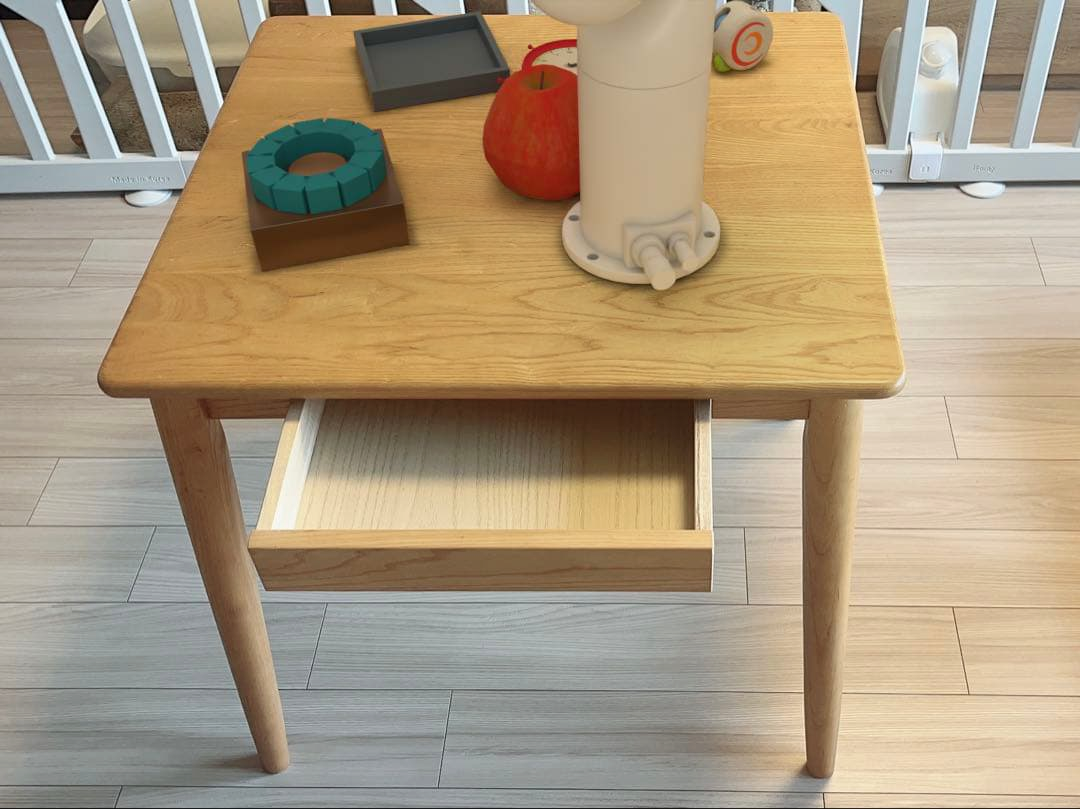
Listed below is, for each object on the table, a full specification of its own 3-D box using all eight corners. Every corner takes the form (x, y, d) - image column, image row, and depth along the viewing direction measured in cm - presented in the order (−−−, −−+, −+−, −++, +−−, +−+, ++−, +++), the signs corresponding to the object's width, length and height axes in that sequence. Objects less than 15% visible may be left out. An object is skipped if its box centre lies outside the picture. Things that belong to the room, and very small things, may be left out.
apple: (479, 214, 94) (466, 99, 87) (500, 150, 101) (489, 40, 94) (601, 218, 93) (598, 101, 85) (613, 153, 100) (611, 40, 93)
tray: (511, 89, 109) (509, 69, 108) (374, 111, 107) (371, 91, 106) (482, 29, 119) (480, 10, 117) (356, 49, 117) (352, 30, 115)
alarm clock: (530, 31, 110) (675, 18, 103) (546, 91, 114) (686, 82, 107) (485, 81, 103) (637, 70, 96) (504, 142, 107) (651, 136, 100)
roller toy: (696, 61, 112) (699, 5, 108) (749, 45, 114) (754, -11, 110) (721, 79, 109) (726, 22, 105) (775, 62, 111) (781, 6, 107)
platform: (409, 244, 92) (402, 194, 88) (261, 271, 90) (248, 221, 86) (387, 168, 100) (379, 119, 97) (251, 191, 98) (239, 143, 95)
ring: (394, 200, 89) (391, 176, 88) (257, 224, 88) (251, 200, 86) (375, 132, 97) (371, 109, 95) (248, 154, 95) (243, 130, 94)
